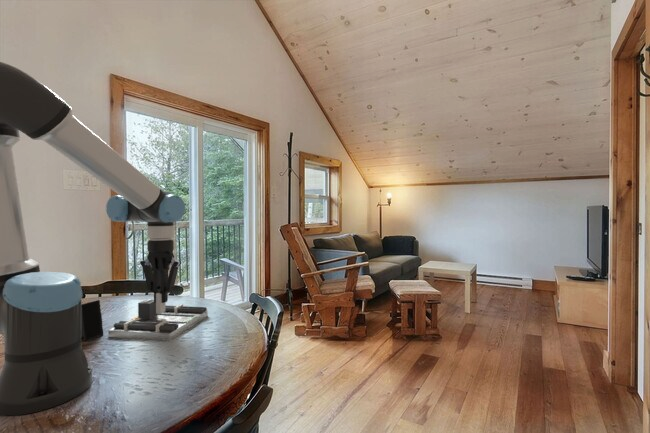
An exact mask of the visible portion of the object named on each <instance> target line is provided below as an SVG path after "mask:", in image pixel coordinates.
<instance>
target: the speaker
mask: <svg viewBox="0 0 650 433" xmlns="http://www.w3.org/2000/svg"><path fill="white" fill-rule="evenodd" d="M100 301H101V300H100V299H97V300H92V301H91V302H90V301H89V302H85V303H81V338H83V341H84V342H88V341H90V340H94V339H97V338H99V337H102V336H104V329H103V328H104V327H103V315H102V311H101V302H100Z"/></svg>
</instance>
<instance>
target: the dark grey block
mask: <svg viewBox="0 0 650 433" xmlns="http://www.w3.org/2000/svg"><path fill="white" fill-rule="evenodd" d="M137 314H138V315H137V316H138V319H151V318H153V317H155V316H158V314H156V302H154V299H152V298H150V299H145V300H143V301H140V302H138V303H137Z"/></svg>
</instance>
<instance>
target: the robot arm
mask: <svg viewBox="0 0 650 433" xmlns="http://www.w3.org/2000/svg"><path fill="white" fill-rule="evenodd" d="M20 133H23V134H25V136H27V137H28V138H30V139H31V140H33V141H34V140H35V141H42V142H45V143H47V144H48V145H49V146H51V147H52V148H53V149H54V150H56V151H58V152H59V153H60V154H62V155H63V156H64V157H66V158H67V159H68V160H70V161H71V162H72V163H74V164H76V165H77V166H79V167H80V168H81V169H83V170H84V171H85V172H87V173H88V174H90V176H92V177H93V178H95V179H96V180H98V181H99V182H101V183H102V184H104V186H106V187H108V188H109V189H110V190H112V191H113V192H115V193H116V194H117V195H116V194H115V195H112V196H111V197H109V198H108V200H107V202H106V208H105V209H106V211H105V212H106V214H107V217H108V219H109V220H111V221H112V222H120V223H126V222H129V223H130V222H136V223H137V222H139V223H141V222H146V223H147V224H146V226H147V230H146V231H147V232H146V233H147V235H146V236H147V237H146V238H147V239H148V240H147V242H146V243H147V247H146V248H147V249H146V250H147V252H148V253H147V257H146V258H145V259H144V260H141V261H139V264H140V266H141V267H142V269H143V271H142V272H143V274H144V278H145V283H146V288H147V290H148V291H151V292H153V300H154V302H156V314H161V313H163V312H165V311H166V306H167V305H166V303H168V299H169V297H168V295H169V294H168V293H169V291H170V292H171V291H172V290H174V288H175V285H176V284H175V283H176V279H177V275H178V271H179V268H180V266H181V265H182V261H181V260H178V259H176V258H175V255H174V250H175V247H174V245H175V244H174V240H173V238H174V231H175V230H174V223H176V222H178V221H180V220H182V218H183V217H184V215H185V213H186V203H185V201H184V199H183V198H182V197H181V196H179V195H176V194H174V193H173V192H171V191H168V190H162V189H161V188H160V187H159V186H158V185H156V184H155V183H154V182H153V181H152V180H150V179H149V178H148V177H147V176H146V175H145V174H143V173H142V172H141V171H140V170H139V169H138V168H136V167H135V166H134V165H133V164H131V163H130V162H129V161H127V159H125V158H124V157H123V156H122V155H120V153H118V152H117V151H116V150H115V149H113V148H112V147H111V146H110V145H109V144H108V143H106V142H105V141H104V140H102V139H101V137H99V136H98V135H97V134H96V133H94V132H93V131H92V130H91V129H90V128H89V127H87V125H85V124H84V123H83V122H81V121H80V120H79V118H77V117H76V116H74V115H73V108H72V107H71V106H70V105H69V104H68V103H67V102H66V101H65V100H63V99H62V98H61V97H60V96H59V95H58V94H56V93H55V92H54V91H53V90H51V89H50V88H48V87H47V86H46V85H44V84H43V83H42V82H40V81H39V80H37V79H36V78H35V77H33V76H31V75H30V74H28V73H26V72H24V71H23V70H21V69H20V68H17V67H15V66H13V65H10V64H8V63H5V62H1V61H0V335H3V336H4V337H3V338H4V340H3V342H4V343H3V344H4V345H3V346H4V363H3V367H2V370H1V371H0V415H1V416H19V415H21V416H22V415H27V414H33V413H36V412H40V411H44V410H47V409H50V408H54V407H57V406H59V405H62V404H64V403H67V402H68V401H71V400H72V399H75V398H76V397H78V396H80V395H81V394H83V393H85V391H87V390H88V389H89V387H90V386H91V385H92V383H93V371H92V367H91V366H90V365H89V362H88V359H87V356H86V355H85V352H84V350H83V347H82V337H81V304H82V298H83V290H82V285H81V280H80V279H79V278H78V277H77V276H76V275H75V274H72V273H68V272H63V271H62V272H61V271H56V272H53V271H41V269H40V264H39V261H36V260H34V258H31V257H30V256H29V251H28V245H27V239H26V238H27V237H26V232H25V226H24V219H23V213H22V206H21V200H20V193H19V186H18V185H19V184H18V179H17V173H16V167H15V160H14V155H13V147H14V146H15V145H16V144H17V143H18V142H20V141H21V137H20Z"/></svg>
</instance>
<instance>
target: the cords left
mask: <svg viewBox="0 0 650 433" xmlns="http://www.w3.org/2000/svg"><path fill="white" fill-rule="evenodd" d="M132 319H133V318H132ZM130 320H131V319H130ZM130 320H128V321H127V320H119V321H118V322H114V324H113V328H124V330H127V329H143V330H156V332H159V331H160V330H161V331H174V330H175V329H177V328H178V324H170V323H167V321H163V322H161V323H151V322H136V319H133V320H131V321H130Z"/></svg>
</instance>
